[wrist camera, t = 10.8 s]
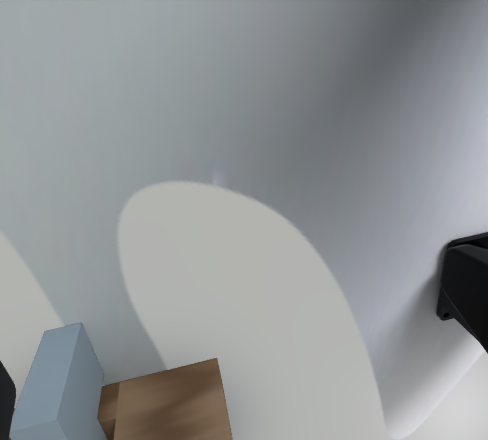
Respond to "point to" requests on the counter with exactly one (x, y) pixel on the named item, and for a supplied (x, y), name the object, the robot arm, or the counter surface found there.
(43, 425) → the slate block
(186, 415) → the walnut board
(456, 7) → the counter surface
